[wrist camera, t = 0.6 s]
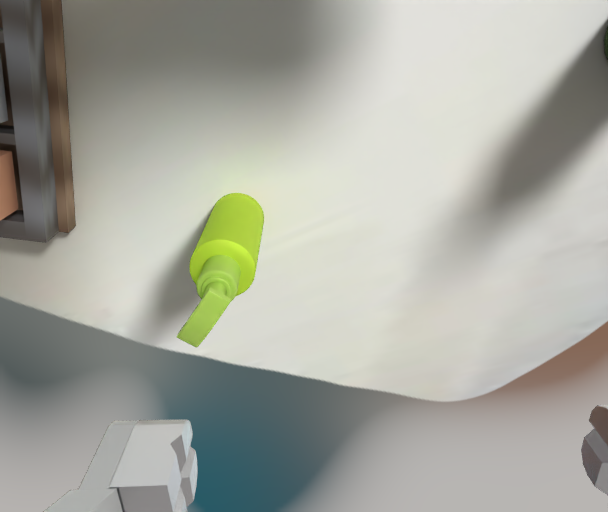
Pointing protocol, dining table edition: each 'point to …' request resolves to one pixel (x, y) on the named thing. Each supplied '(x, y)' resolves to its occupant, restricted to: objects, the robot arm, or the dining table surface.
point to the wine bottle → (606, 43)
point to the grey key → (2, 97)
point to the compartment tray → (36, 119)
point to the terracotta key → (7, 185)
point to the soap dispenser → (223, 261)
